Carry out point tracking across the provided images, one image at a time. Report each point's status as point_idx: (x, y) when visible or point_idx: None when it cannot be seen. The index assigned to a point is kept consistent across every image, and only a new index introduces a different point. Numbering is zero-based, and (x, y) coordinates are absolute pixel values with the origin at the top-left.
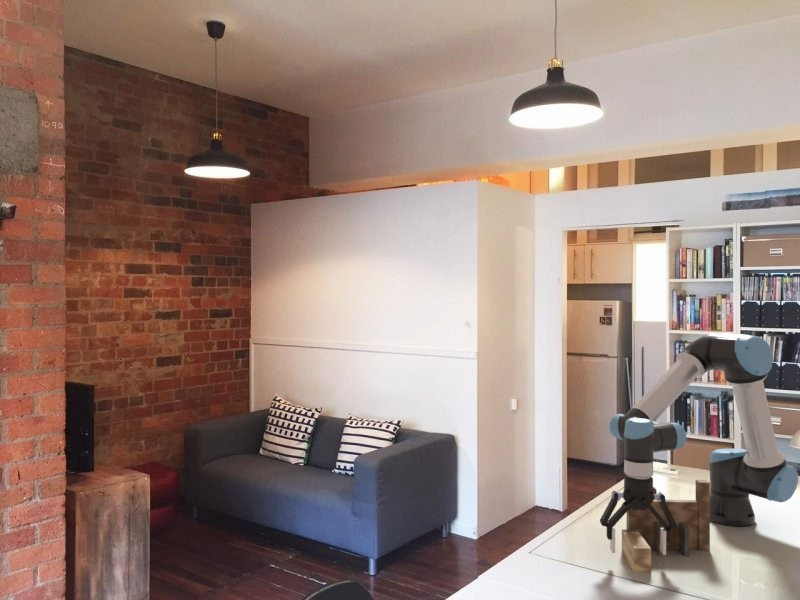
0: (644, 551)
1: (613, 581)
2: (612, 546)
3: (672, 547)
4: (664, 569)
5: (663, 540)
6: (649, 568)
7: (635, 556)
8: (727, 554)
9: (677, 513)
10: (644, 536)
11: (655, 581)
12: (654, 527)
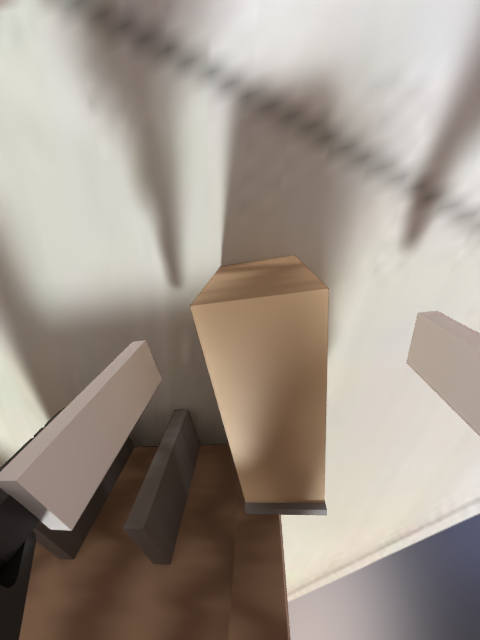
0: (242, 291)
1: (457, 69)
2: (473, 330)
3: (149, 451)
4: (168, 308)
5: (90, 399)
6: (224, 269)
7: (301, 274)
8: (18, 433)
9: (46, 625)
10: (221, 485)
11: (206, 153)
12: (176, 529)
